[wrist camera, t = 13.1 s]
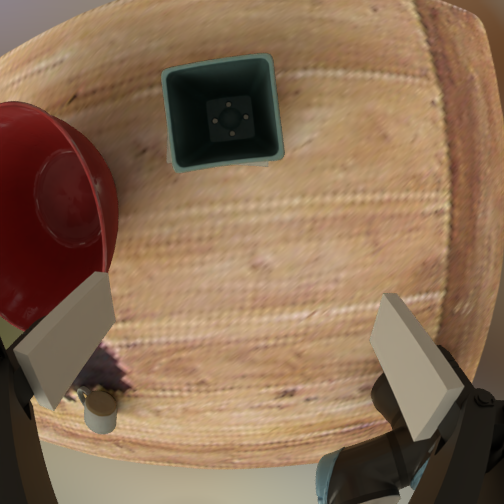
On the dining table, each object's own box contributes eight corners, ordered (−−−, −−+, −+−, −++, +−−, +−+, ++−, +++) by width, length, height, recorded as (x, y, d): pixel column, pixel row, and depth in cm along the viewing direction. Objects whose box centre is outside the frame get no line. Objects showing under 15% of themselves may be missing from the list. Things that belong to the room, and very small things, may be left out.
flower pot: (268, 74, 27) (272, 51, 19) (278, 154, 30) (285, 160, 22) (185, 86, 28) (159, 69, 19) (195, 164, 31) (173, 174, 23)
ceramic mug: (121, 396, 54) (109, 422, 46) (120, 415, 56) (110, 440, 49) (79, 376, 53) (64, 400, 45) (80, 397, 56) (67, 420, 48)
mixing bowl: (130, 311, 45) (90, 375, 31) (6, 245, 41) (-48, 280, 27) (186, 137, 35) (142, 139, 21) (33, 90, 32) (-37, 88, 17)
